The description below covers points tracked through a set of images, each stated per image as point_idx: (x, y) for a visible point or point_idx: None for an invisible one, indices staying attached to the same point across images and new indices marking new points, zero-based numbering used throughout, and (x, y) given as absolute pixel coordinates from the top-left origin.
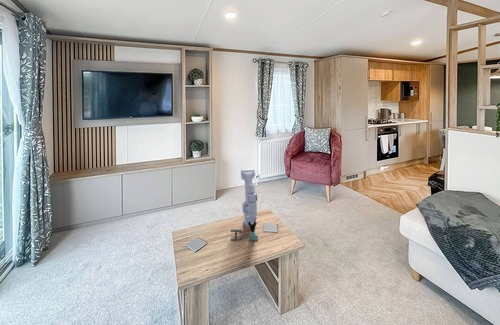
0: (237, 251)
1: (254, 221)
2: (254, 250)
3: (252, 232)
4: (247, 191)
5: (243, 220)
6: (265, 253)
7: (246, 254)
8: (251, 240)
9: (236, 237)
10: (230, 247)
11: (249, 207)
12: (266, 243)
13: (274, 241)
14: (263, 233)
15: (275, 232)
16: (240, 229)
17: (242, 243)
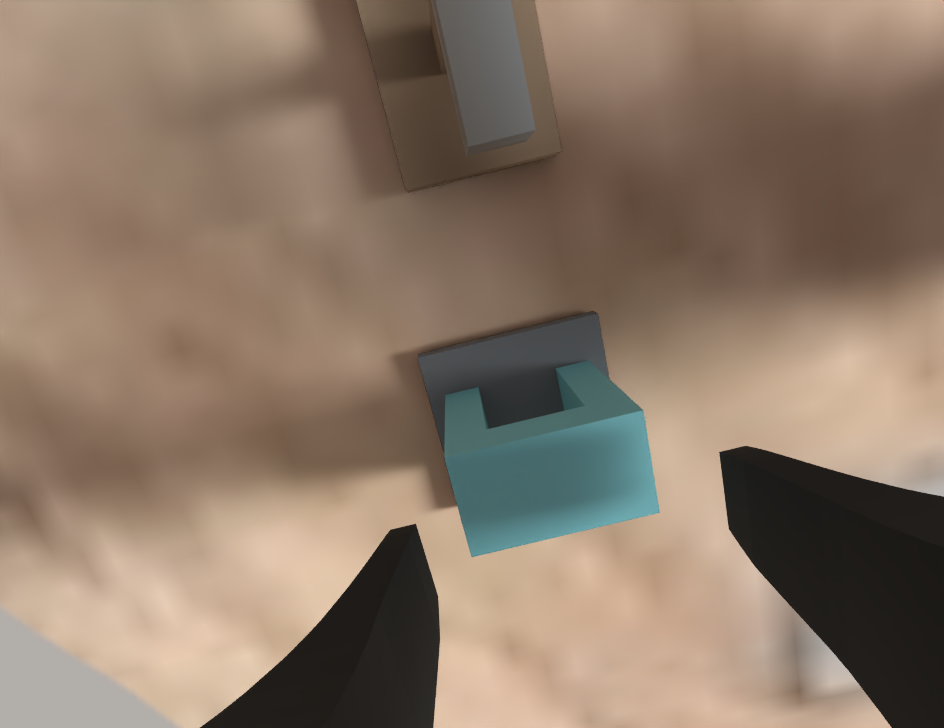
0: (25, 257)
1: (856, 650)
2: (182, 527)
3: (487, 493)
4: None
5: None
6: (170, 687)
7: (15, 441)
8: (432, 411)
9: (438, 63)
10: (91, 56)
11: None
12: None
13: (524, 722)
14: None
15: (791, 680)
16: (520, 120)
17: (320, 260)
